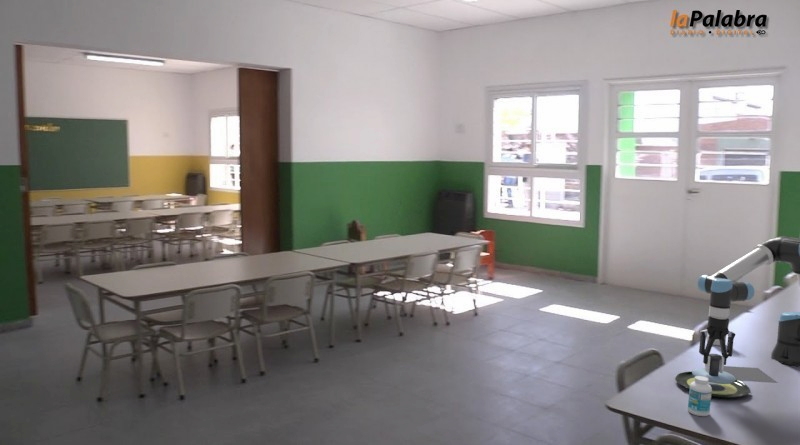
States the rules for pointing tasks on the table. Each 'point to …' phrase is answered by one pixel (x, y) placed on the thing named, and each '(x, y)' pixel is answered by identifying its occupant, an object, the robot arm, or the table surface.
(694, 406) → the pill bottle
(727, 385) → the plate
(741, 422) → the table surface
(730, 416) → the table surface
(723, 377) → the lid
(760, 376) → the mat
